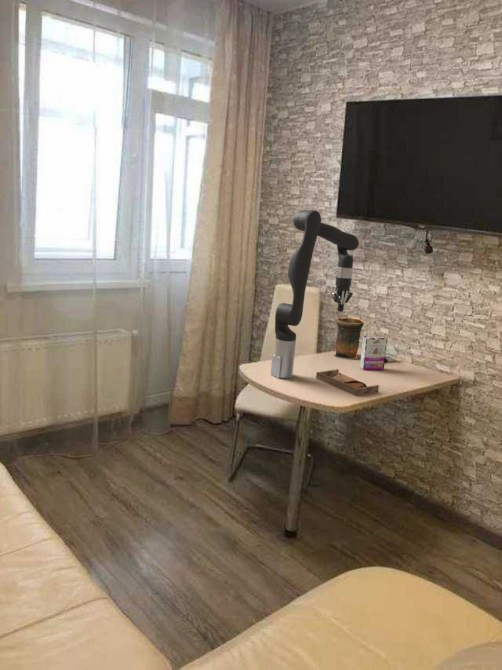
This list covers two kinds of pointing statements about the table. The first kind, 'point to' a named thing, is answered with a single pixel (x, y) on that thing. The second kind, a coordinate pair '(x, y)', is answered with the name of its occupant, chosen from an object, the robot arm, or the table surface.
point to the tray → (326, 378)
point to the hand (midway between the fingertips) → (340, 311)
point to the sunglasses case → (349, 381)
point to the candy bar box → (373, 352)
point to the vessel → (348, 337)
